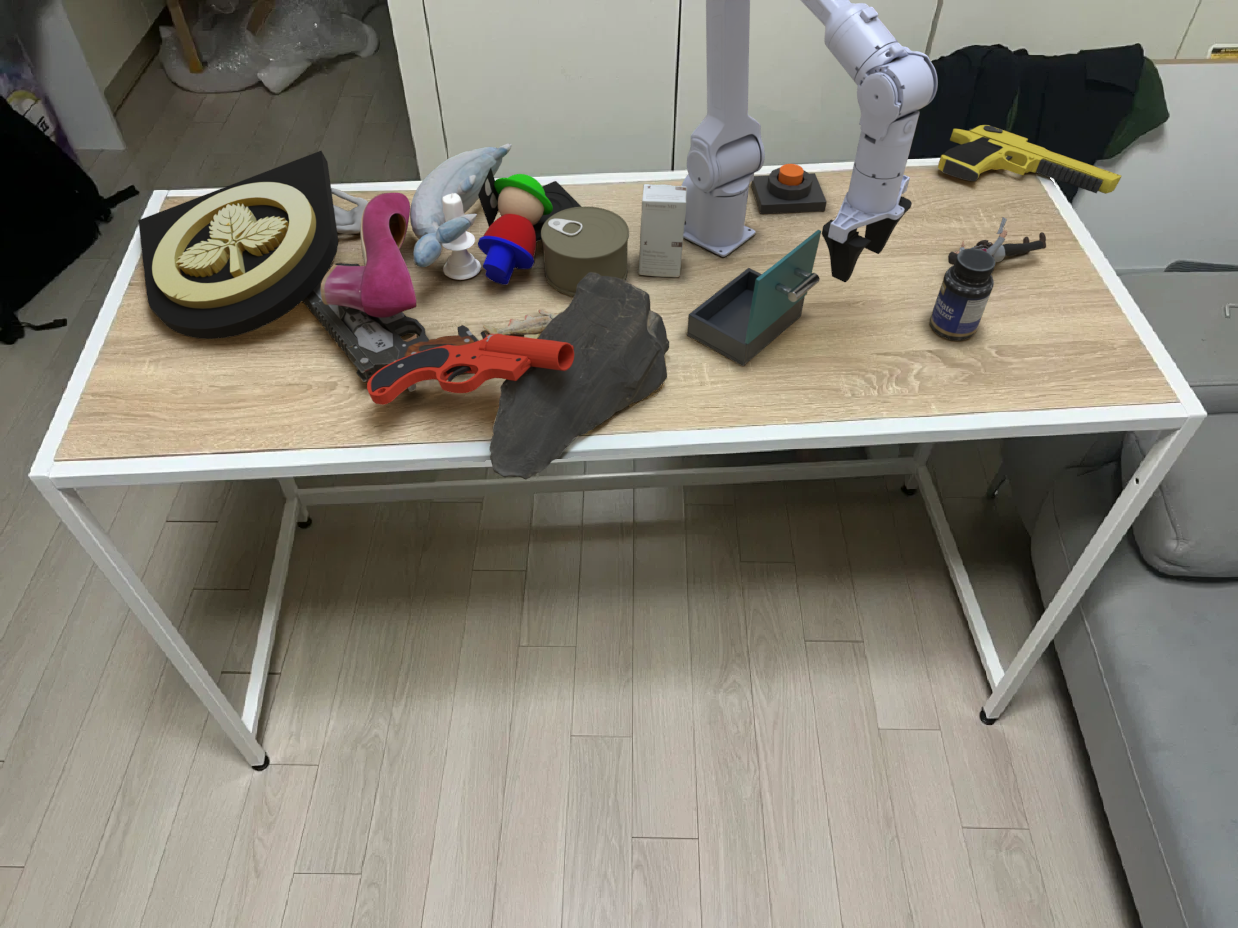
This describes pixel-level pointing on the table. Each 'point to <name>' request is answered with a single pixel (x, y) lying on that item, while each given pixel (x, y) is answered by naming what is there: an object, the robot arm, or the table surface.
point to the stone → (581, 375)
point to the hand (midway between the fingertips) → (856, 263)
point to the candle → (459, 244)
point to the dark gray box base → (735, 320)
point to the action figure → (1003, 246)
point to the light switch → (555, 204)
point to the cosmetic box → (662, 230)
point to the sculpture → (449, 177)
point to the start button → (791, 174)
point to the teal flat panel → (783, 286)
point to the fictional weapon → (376, 334)
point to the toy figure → (510, 223)
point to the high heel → (376, 263)
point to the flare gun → (469, 364)
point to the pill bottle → (963, 295)
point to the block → (788, 194)
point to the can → (584, 246)
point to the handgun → (1018, 159)
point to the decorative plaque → (241, 251)
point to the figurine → (349, 213)
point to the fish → (525, 325)
